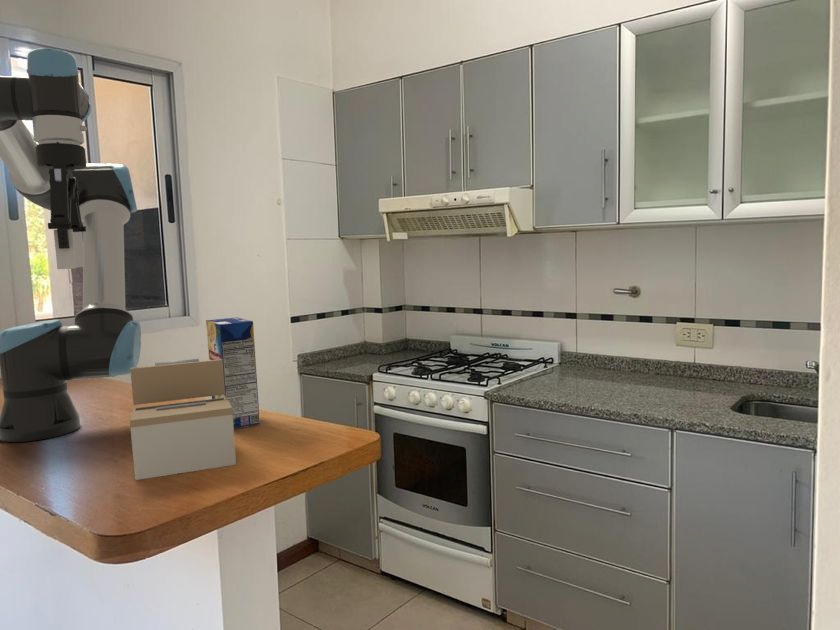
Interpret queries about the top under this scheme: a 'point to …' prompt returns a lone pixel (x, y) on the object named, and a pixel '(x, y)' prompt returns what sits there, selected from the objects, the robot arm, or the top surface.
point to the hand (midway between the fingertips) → (72, 268)
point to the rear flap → (177, 381)
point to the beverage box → (236, 366)
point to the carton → (182, 437)
